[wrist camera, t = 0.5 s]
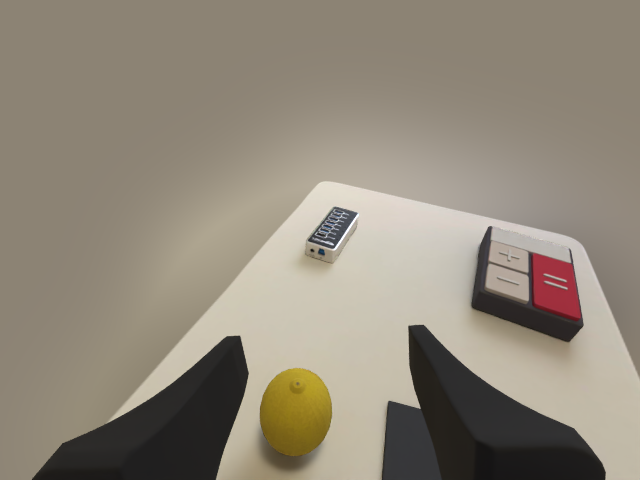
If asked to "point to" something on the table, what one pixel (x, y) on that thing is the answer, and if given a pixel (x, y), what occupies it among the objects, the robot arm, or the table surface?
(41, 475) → the robot arm
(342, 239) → the multiport hub
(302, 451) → the lemon
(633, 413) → the table surface
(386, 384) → the table surface
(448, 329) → the table surface
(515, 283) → the button control box
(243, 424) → the table surface
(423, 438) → the desk mat
